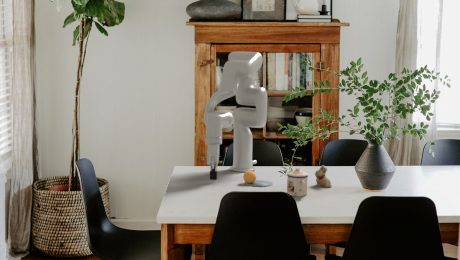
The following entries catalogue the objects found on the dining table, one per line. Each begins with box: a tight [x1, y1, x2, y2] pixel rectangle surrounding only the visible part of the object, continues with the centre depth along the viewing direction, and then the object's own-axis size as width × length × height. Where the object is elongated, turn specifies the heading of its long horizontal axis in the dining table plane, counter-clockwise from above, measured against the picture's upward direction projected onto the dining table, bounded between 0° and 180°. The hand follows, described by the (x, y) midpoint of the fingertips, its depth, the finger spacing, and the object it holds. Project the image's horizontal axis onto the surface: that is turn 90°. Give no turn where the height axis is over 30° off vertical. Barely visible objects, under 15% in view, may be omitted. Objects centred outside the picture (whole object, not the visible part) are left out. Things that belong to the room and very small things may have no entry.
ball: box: [242, 171, 257, 184], centre depth 319 cm, size 6×6×6 cm
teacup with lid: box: [286, 167, 309, 197], centre depth 298 cm, size 12×9×12 cm
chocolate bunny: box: [314, 164, 332, 188], centre depth 316 cm, size 6×8×10 cm
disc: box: [244, 179, 274, 188], centre depth 320 cm, size 13×13×1 cm
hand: (213, 179), depth 320 cm, fingers closed
